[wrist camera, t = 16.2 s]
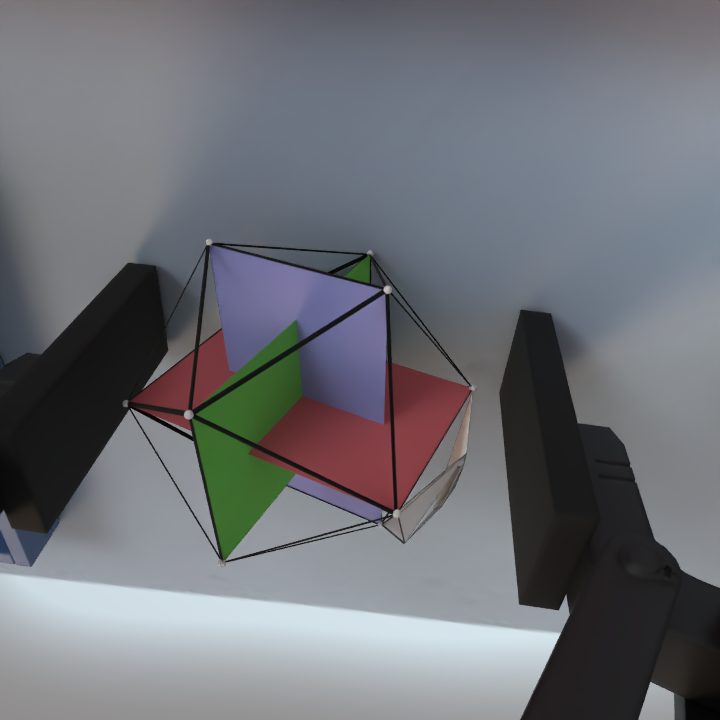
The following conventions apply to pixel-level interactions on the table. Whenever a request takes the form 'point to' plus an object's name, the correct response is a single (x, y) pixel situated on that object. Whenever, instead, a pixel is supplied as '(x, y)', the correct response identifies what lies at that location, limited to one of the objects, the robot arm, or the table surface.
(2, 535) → the blue tray
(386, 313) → the wire icosahedron model
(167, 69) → the table surface
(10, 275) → the table surface
